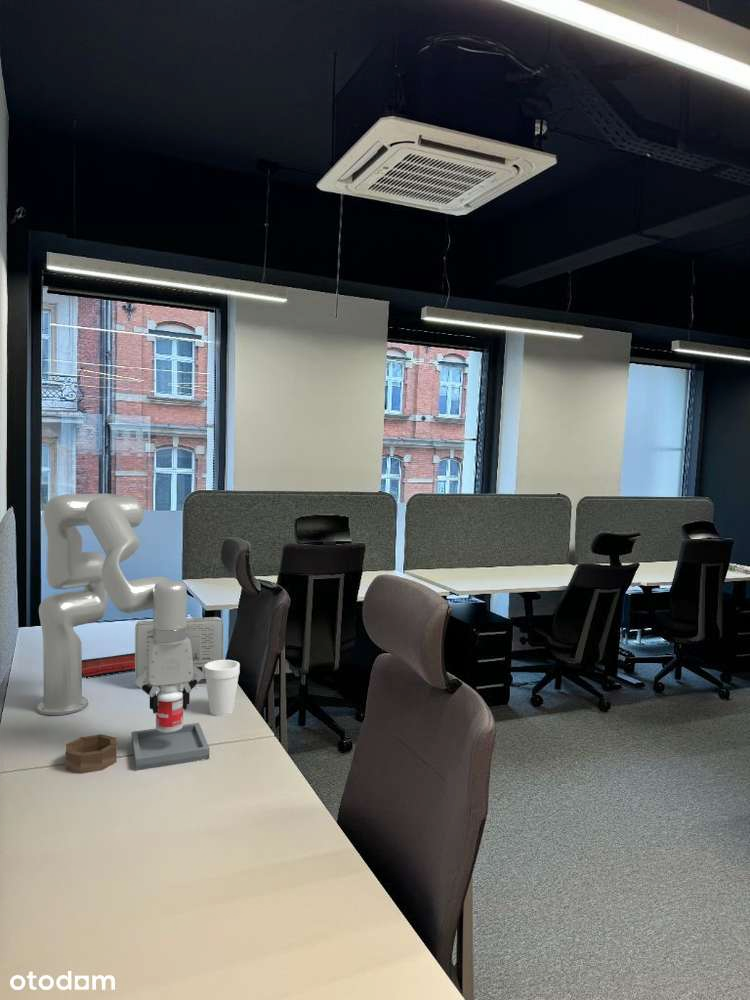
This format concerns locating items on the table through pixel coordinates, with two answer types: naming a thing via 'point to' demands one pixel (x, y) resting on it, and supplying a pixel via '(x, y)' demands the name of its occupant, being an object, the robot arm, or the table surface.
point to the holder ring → (91, 753)
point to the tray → (168, 747)
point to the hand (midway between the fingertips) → (169, 708)
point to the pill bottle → (169, 708)
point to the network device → (202, 637)
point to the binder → (108, 665)
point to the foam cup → (222, 685)
